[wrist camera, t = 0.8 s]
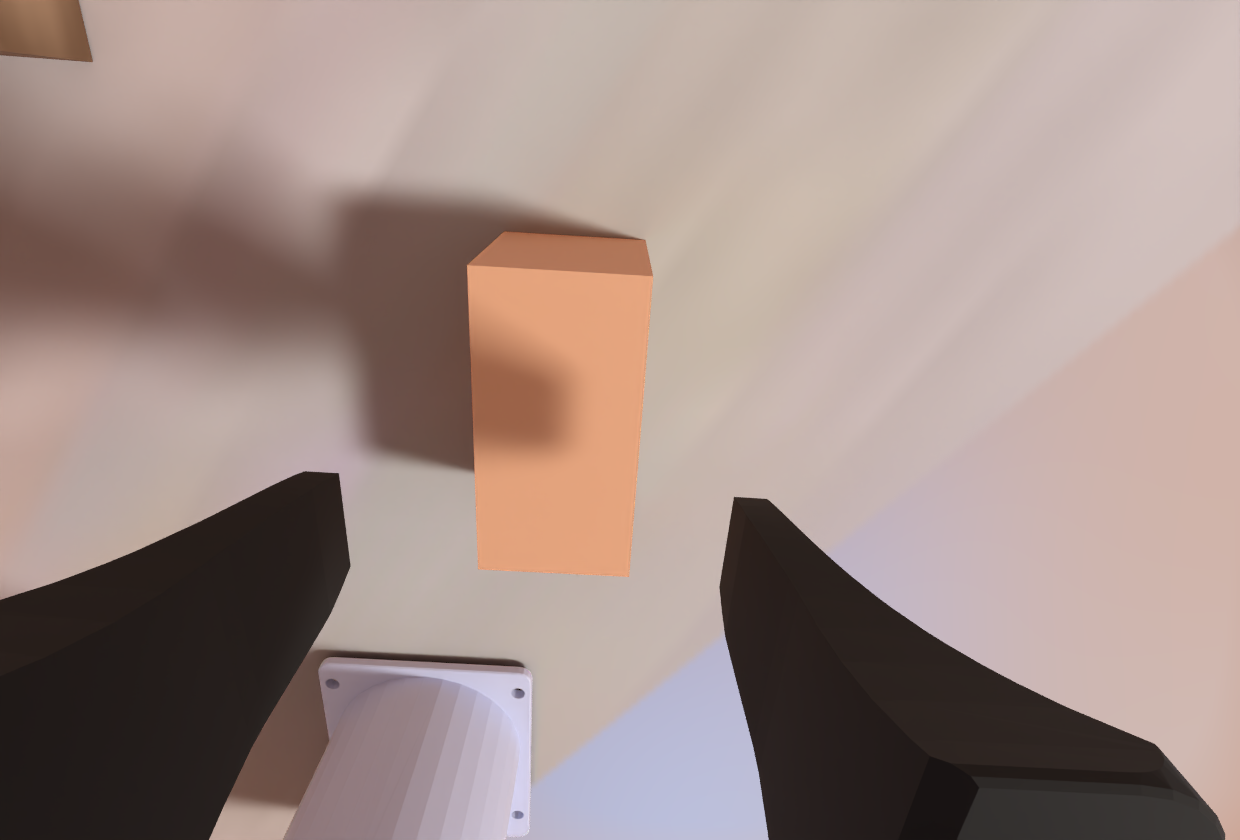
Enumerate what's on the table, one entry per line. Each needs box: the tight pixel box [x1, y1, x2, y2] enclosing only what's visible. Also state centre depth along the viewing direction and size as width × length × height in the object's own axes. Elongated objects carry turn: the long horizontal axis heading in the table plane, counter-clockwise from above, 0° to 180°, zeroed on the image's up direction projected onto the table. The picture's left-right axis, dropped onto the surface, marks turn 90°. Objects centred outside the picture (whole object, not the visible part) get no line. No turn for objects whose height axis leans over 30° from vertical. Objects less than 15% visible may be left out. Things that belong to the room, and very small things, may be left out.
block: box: [467, 231, 653, 577], centre depth 18 cm, size 8×4×5 cm, turn 177°
